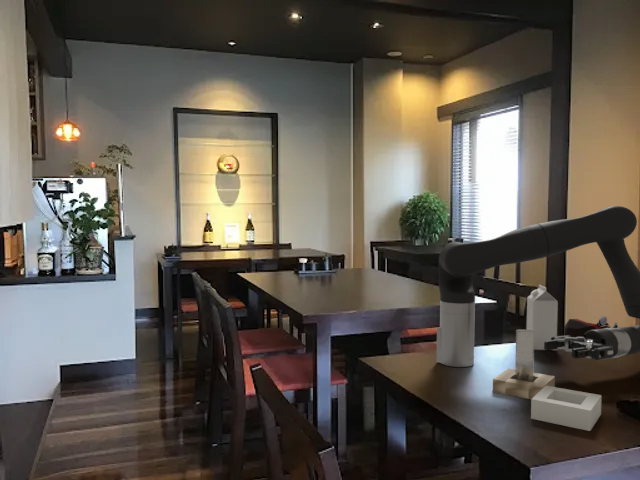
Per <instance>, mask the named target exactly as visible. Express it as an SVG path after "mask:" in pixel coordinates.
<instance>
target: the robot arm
mask: <svg viewBox="0 0 640 480" xmlns="http://www.w3.org/2000/svg"><path fill="white" fill-rule="evenodd" d="M637 224H638V220H637V216H636V214H635V213H634V212H633V211H632V210H631V209H629V208H627V207H625V206H621V205H611V206H608V207H604V208H601V209H599V210H597V211H595V212H593V213H590V214H587V215H583V216H579V217H574V218H566V219H558V220H551V221H545V222H540V223H535V224H531V225H527V226H524V227H523V226H522V227H520V228H516V229H514V230H511V231H509V232H506V233H504V234H501V235H500V236H498V237H494V238H492V239H486V240H482V241H481V240H480V241H473V242H460V241H451V242H449V243H447V244H446V245H444V246H443V247H442V248H441V250H440V252H439V256H438V288H439V297H440V299H439V300H440V301H439V303H440V304H439V306H440V307H439V327H437V328H436V363H440V364H441V365H444V366H447V367H448V366H449V367H452V368H453V367H454V368H455V367H456V368H466V367H471V366H473V365H474V364H475V363H474V361H475V321H476V320H475V318H476V317H475V316H476V315H475V313H476V311H475V310H476V307H475V306H476V302H475V301H476V293H475V289H474V286H473V285H474V284H473V275H474V274H478V273H480V272H483V271H486V270H489V269H492V268H496V267H499V266H504V265H513V264H520V263H525V262H530V261H535V260H539V259H540V260H541V259H544V258H548V257H552V256H556V255H558V254H561V253H565V252H568V251H570V250H573V249H575V248H578V247H581V246H585V245H588V244H594V243H596V244H597V246H598V248H599V250H600V251H601V254H602V255H603V257H604V259H605V261H606V263H607V265H608V267H609V270H610V272H611V274H612V277H613V279H614V282H615V284H616V286H617V289H618V293H619V295H620V298H621V300H622V303H623V306H624V309H625V312H626V314H627V315H628V316H629V317H630V318H635V319H639V320H640V270H639V268H638V267H637V265H636V264H635V262H634V261H633V259H632V258H631V256H630V253H629V251H628V249H627V247H626V243H625V239H626V238H628V237H630V235H632V233H634V231H635V230H636V227H637ZM570 344H571V345H570ZM569 346H570V348H569ZM544 349H545V350H544V351H555V350H554V349H557V350H564V351H565V352H568V353H571V357H572V359H583V358H586V359H592V360H593V361H603V360H609V359H616V358H620V357H622V356H628V355H630V356H631V355H634V354H635V355H636V354H638V353H640V324H638V325H632V326H622V327H618V328H613V327H611V328H604V329H595V330H589V331H587V332H586V333H585V334H584V335H583V337H576V338H575V337H571V336H569V335H566V336H564V335H557V336H556V337H551V340H550V341H545V342H544Z"/></svg>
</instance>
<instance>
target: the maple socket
mask: <svg viewBox="0 0 640 480" xmlns="http://www.w3.org/2000/svg"><path fill="white" fill-rule="evenodd" d="M555 384H556V376H555V375H549V374H544V373H538V372H534V373H533V382H527V381H522V380H516V379H515V368H507V369H505V370H504V371H502V372H501V373H500V374H498V375H497V376H495V377H493V379H492V392H493V393H496V394H501V395H507V396H511V395H512V397H516V396H517V397H518V398H522V399H528V400H531V399H532V398H533V397H534V396H535V395H536V394H537V393H538V392H540V391H541V390H542V389H543V388H544V387H545V386H552V387H556V385H555Z"/></svg>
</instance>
